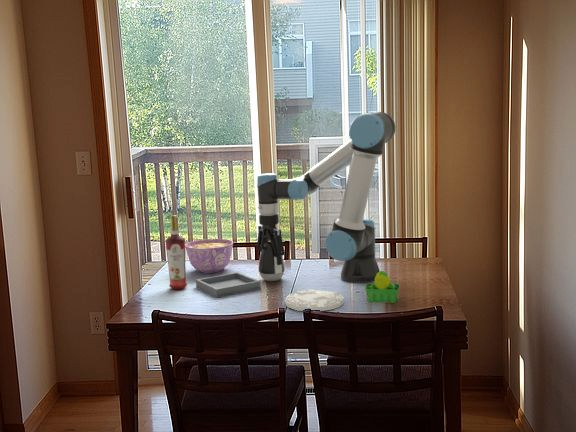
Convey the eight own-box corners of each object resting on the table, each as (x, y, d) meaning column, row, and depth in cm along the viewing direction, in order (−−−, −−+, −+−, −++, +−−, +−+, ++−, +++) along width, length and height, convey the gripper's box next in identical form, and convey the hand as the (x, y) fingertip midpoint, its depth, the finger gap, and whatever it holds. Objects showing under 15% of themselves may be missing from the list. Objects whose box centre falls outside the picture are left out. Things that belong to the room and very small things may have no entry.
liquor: (168, 291, 273) (163, 218, 268) (168, 286, 280) (163, 214, 275) (188, 290, 274) (183, 216, 269) (187, 285, 281) (183, 213, 277)
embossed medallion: (350, 310, 242) (350, 302, 241) (292, 316, 238) (292, 307, 237) (334, 294, 261) (334, 286, 261) (280, 299, 257) (280, 291, 257)
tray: (260, 288, 271) (260, 281, 271) (216, 297, 262) (216, 289, 262) (238, 279, 287) (237, 272, 286) (196, 287, 278) (195, 279, 277)
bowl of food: (228, 276, 292) (226, 248, 290) (180, 276, 295) (178, 248, 294) (239, 265, 311) (238, 238, 309) (194, 265, 315) (193, 238, 313)
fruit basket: (400, 297, 252) (400, 266, 250) (398, 305, 244) (397, 272, 242) (367, 297, 255) (366, 265, 253) (364, 304, 246) (363, 272, 244)
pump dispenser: (253, 280, 284) (251, 242, 281) (271, 275, 291) (270, 237, 289) (272, 284, 277) (270, 245, 274) (290, 278, 284) (288, 240, 282)
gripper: (246, 211, 287) (249, 266, 291) (275, 218, 268) (277, 277, 272) (262, 209, 291) (265, 263, 295) (292, 216, 272) (295, 274, 276)
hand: (271, 270), depth 283 cm, fingers closed on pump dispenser, 10 cm apart
